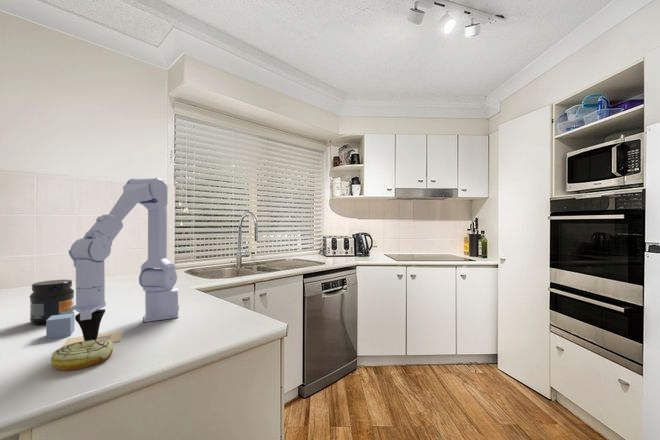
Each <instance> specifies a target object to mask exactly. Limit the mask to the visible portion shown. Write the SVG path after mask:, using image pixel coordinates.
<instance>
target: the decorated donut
mask: <svg viewBox="0 0 660 440" xmlns="http://www.w3.org/2000/svg"><path fill="white" fill-rule="evenodd" d="M113 350H114V343H112V342H111V341H109V340H104V339H101V340H88V341H82V342H77V343H73V344H69V345H67V346H64V347H62V346H61V347H59V348H58V349H56V350H54V351H53V352H52V353H51V355H52V356H51V358H50V359H51V364H52V366H54V368H55V369H57V370H61V371H73V370H82V369H85V368H89V367H92V366H93V365H97V364H99V363H101V362H103V361H106V360H108V359H109V358H110V357H111V355H112V354H113Z"/></svg>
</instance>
